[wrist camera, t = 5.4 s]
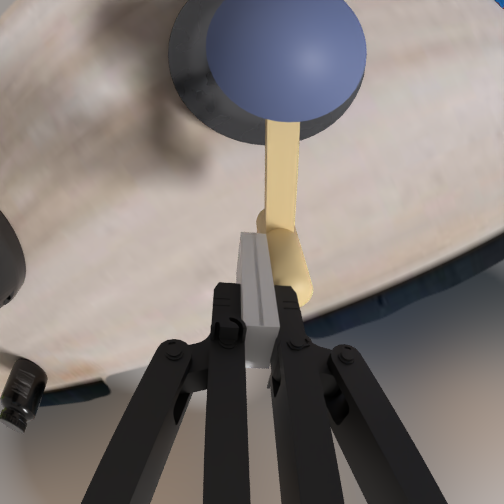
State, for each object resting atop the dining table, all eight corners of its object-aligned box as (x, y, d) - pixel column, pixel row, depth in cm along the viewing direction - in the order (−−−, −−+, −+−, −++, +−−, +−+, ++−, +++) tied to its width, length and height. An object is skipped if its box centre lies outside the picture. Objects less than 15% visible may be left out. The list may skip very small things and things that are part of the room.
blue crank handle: (212, -5, 13) (197, -41, 7) (339, 0, 13) (392, -24, 7) (222, 238, 22) (217, 313, 16) (323, 236, 22) (352, 306, 16)
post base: (163, 129, 23) (142, 151, 18) (188, -37, 15) (173, -64, 10) (336, 154, 24) (361, 182, 19) (372, -2, 17) (408, -14, 12)
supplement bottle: (10, 360, 41) (-13, 414, 31) (26, 354, 39) (2, 414, 29) (37, 382, 44) (18, 436, 34) (55, 378, 43) (36, 437, 33)
